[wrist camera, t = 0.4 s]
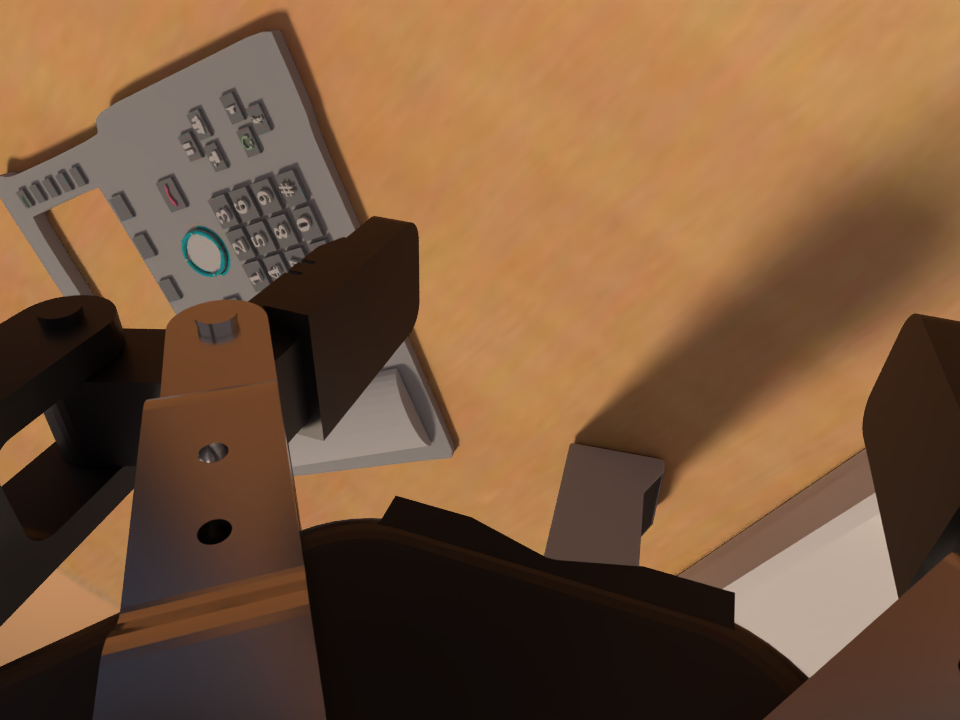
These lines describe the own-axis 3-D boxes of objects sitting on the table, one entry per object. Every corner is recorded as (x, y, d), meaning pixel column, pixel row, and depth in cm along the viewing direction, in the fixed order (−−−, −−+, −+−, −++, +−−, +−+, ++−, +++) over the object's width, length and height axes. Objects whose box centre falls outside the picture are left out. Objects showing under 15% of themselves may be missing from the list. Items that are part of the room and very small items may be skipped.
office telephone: (451, 471, 37) (182, 508, 44) (464, 443, 39) (205, 482, 46) (252, 29, 27) (-48, 169, 35) (283, 24, 30) (-5, 157, 37)
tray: (640, 600, 40) (638, 642, 38) (865, 448, 32) (881, 488, 29) (814, 723, 42) (822, 771, 39) (1073, 609, 33) (1105, 661, 31)
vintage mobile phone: (653, 509, 37) (621, 1212, 16) (564, 492, 38) (422, 1131, 17) (665, 456, 35) (646, 1173, 14) (570, 439, 36) (420, 1085, 15)
